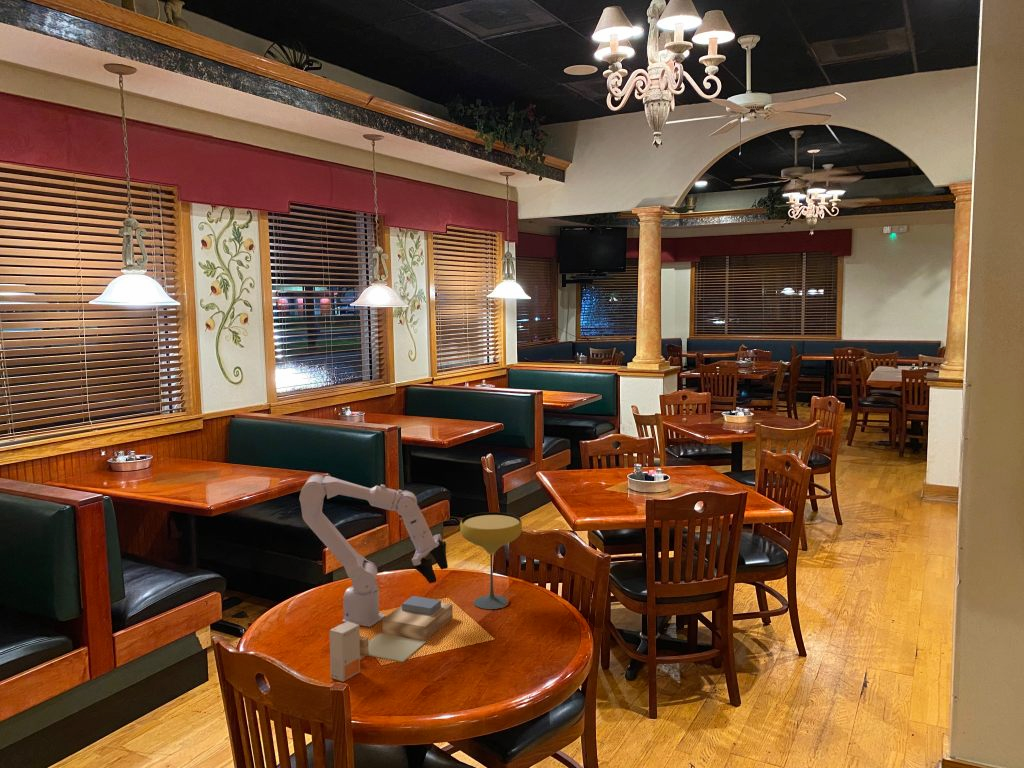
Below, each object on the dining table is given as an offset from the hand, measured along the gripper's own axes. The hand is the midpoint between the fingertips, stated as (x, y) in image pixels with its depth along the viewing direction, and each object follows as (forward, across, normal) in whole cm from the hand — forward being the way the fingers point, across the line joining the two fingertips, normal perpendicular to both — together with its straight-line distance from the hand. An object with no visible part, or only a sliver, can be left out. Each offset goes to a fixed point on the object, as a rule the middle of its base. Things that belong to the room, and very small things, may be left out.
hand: (438, 575), depth 215 cm
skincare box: (+2, -40, +7) cm, 41 cm away
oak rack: (+3, -32, +11) cm, 34 cm away
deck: (+9, -10, +6) cm, 15 cm away
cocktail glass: (+17, +11, -5) cm, 21 cm away
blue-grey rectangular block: (+6, -7, +5) cm, 10 cm away
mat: (+6, -24, +5) cm, 25 cm away
